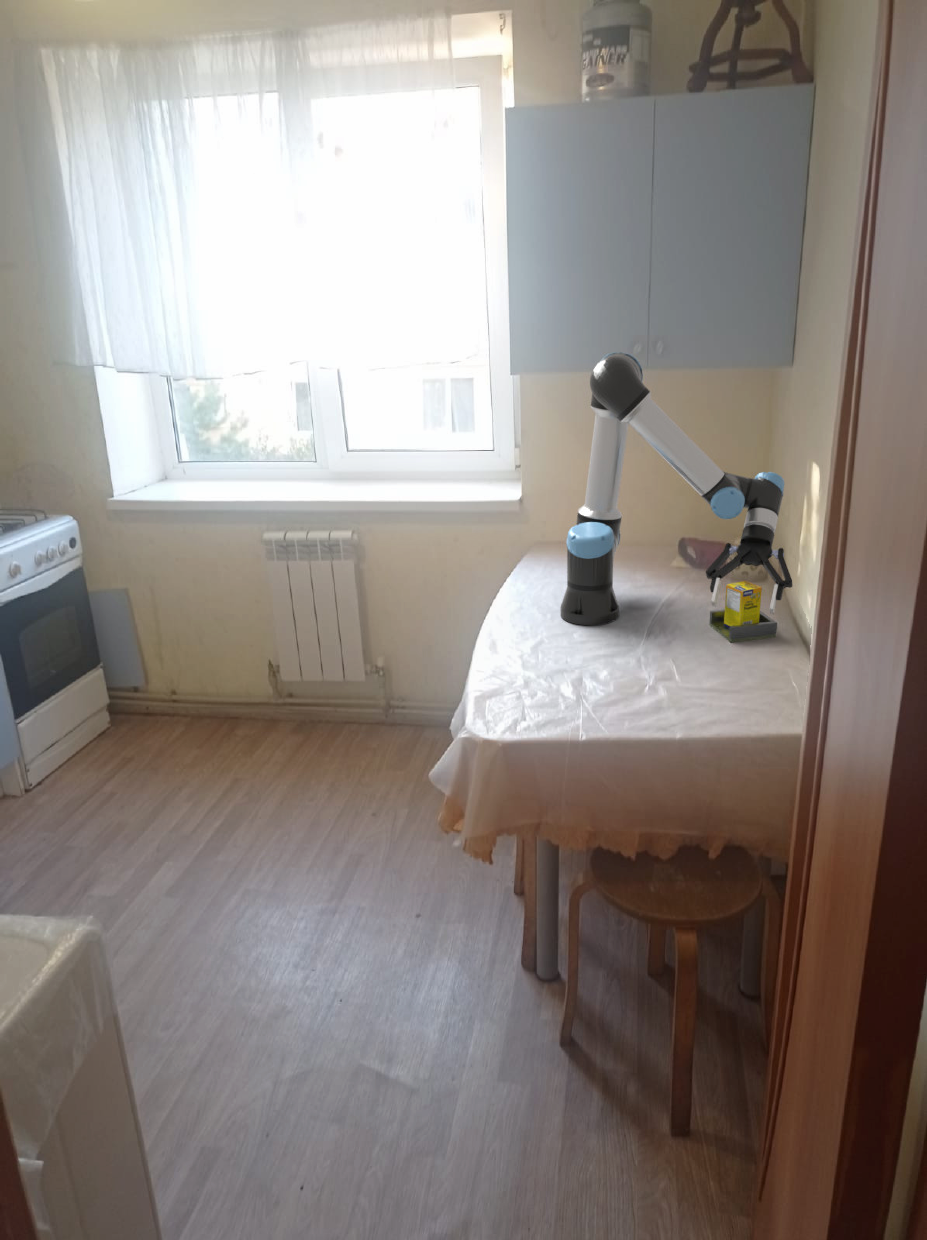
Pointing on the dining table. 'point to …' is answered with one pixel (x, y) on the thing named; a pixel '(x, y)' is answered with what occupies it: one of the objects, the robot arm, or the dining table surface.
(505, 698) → the dining table surface
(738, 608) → the supplement box
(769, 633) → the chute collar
